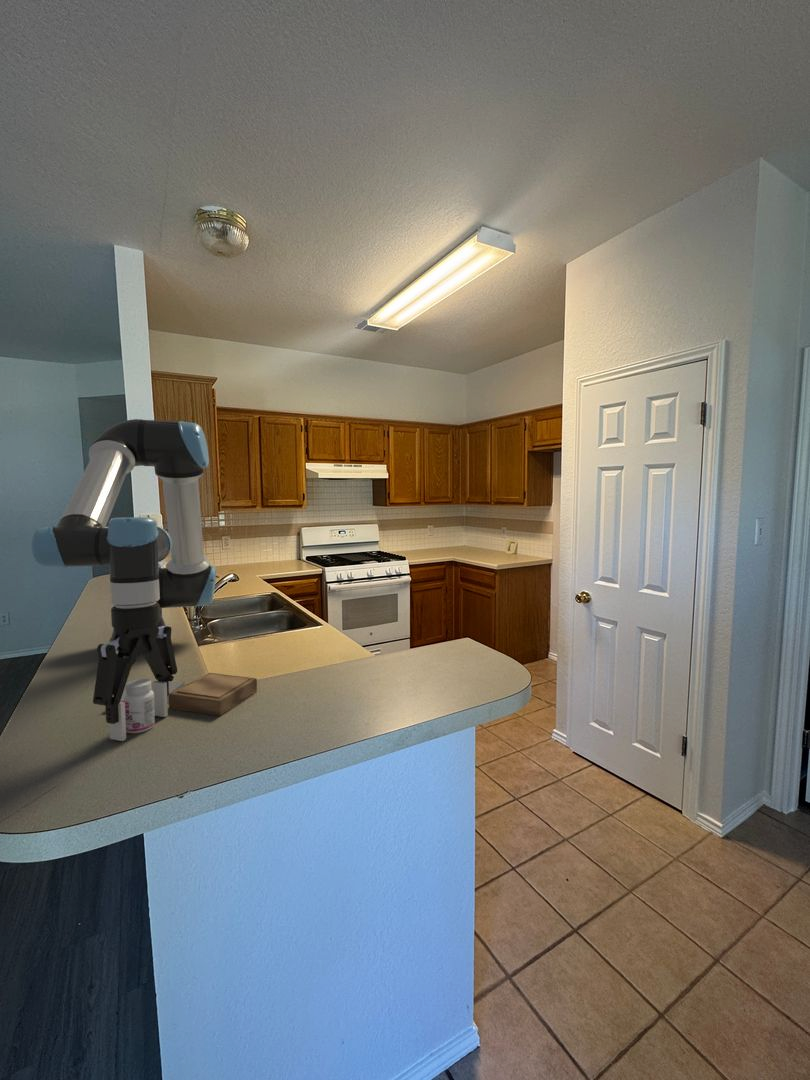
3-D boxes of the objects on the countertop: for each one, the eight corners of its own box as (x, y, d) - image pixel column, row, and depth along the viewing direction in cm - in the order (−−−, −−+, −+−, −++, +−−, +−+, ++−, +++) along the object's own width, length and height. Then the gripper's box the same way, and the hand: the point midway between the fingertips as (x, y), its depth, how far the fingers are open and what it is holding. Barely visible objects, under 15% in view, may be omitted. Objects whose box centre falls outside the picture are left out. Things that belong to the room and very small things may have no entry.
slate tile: (139, 690, 99) (138, 681, 99) (184, 690, 99) (184, 681, 99) (109, 710, 89) (108, 700, 89) (159, 711, 89) (159, 701, 89)
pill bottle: (118, 733, 81) (116, 687, 80) (137, 720, 85) (135, 677, 85) (142, 735, 80) (141, 688, 79) (160, 722, 85) (159, 678, 84)
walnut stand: (210, 685, 102) (209, 671, 102) (256, 691, 99) (256, 677, 99) (169, 708, 91) (168, 692, 90) (220, 716, 87) (220, 699, 87)
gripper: (165, 592, 92) (168, 700, 94) (60, 615, 72) (66, 753, 73) (196, 594, 90) (199, 704, 92) (97, 619, 70) (103, 760, 71)
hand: (140, 726), depth 83 cm, fingers open, 9 cm apart
